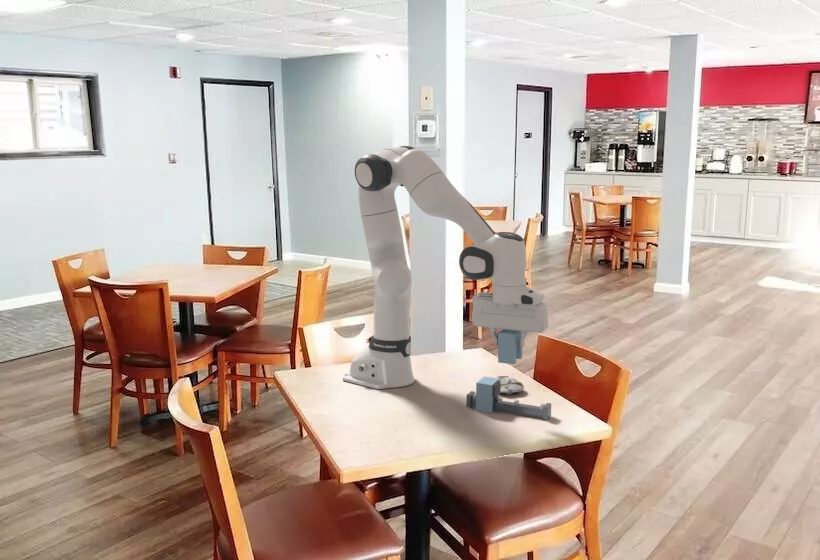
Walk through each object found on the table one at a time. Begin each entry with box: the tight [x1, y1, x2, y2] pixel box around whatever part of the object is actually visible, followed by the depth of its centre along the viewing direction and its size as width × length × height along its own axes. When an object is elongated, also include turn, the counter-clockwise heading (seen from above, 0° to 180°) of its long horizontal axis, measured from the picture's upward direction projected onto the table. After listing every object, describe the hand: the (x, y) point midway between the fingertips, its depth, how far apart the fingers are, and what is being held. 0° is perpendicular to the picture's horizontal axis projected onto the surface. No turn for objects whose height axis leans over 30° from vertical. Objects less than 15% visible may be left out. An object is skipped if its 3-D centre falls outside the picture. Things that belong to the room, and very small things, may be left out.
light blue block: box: [496, 329, 523, 365], centre depth 200 cm, size 5×6×8 cm
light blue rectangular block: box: [475, 376, 501, 414], centre depth 209 cm, size 5×6×8 cm
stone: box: [496, 375, 525, 396], centre depth 225 cm, size 12×9×3 cm
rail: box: [465, 390, 552, 421], centre depth 207 cm, size 23×4×4 cm, turn 65°
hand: (509, 345), depth 200 cm, fingers closed on light blue block, 5 cm apart
